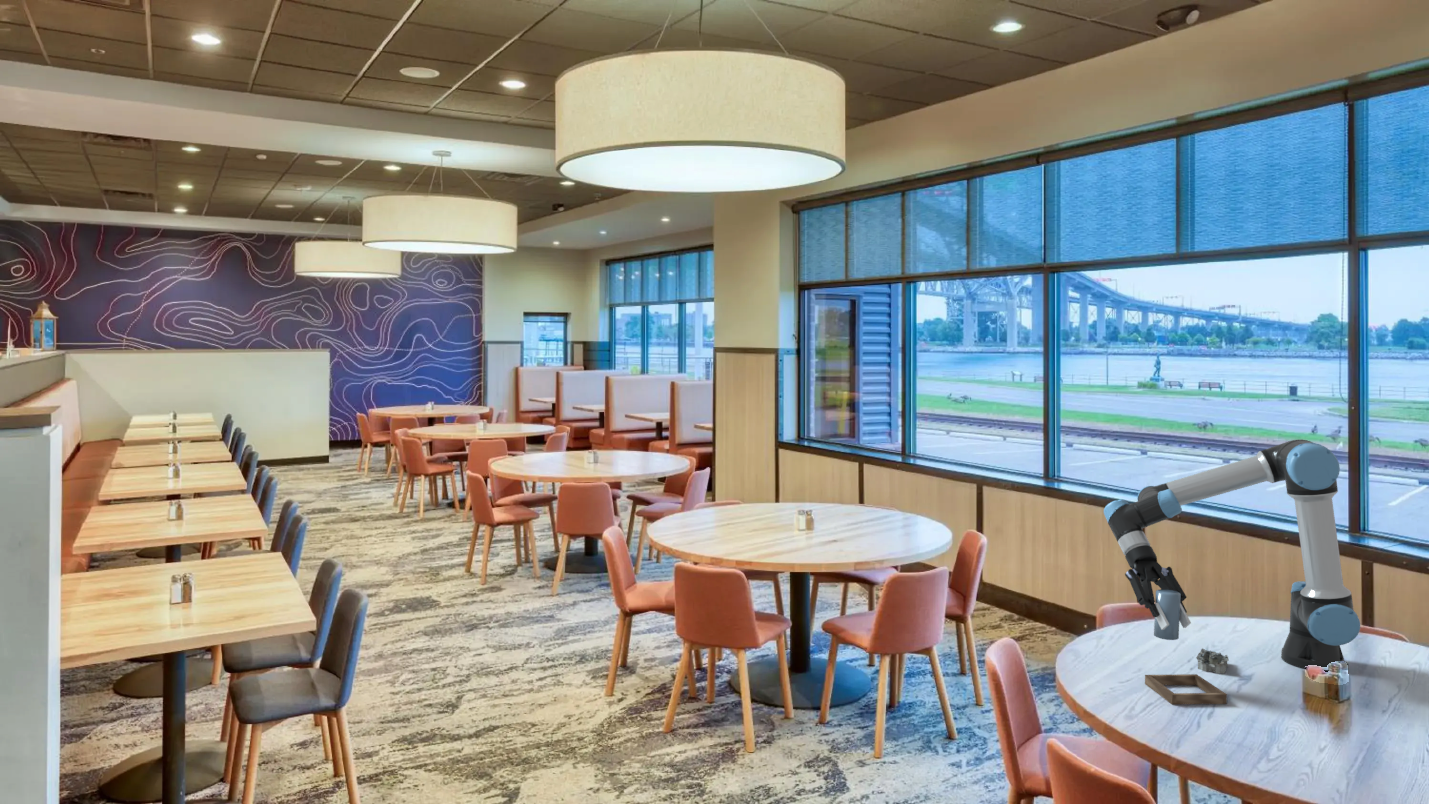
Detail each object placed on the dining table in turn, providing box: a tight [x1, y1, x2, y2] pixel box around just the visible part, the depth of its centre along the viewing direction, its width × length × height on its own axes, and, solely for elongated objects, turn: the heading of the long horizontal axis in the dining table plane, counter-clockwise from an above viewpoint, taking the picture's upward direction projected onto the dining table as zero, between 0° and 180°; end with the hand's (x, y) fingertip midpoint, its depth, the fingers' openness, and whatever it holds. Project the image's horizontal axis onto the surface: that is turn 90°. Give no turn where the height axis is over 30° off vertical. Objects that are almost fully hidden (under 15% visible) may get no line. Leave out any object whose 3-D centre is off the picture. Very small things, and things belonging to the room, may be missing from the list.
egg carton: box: [1195, 647, 1229, 675], centre depth 262 cm, size 11×8×4 cm
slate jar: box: [1153, 588, 1181, 641], centre depth 251 cm, size 6×6×12 cm
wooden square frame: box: [1144, 673, 1228, 705], centre depth 243 cm, size 14×14×2 cm
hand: (1176, 626), depth 247 cm, fingers closed on slate jar, 6 cm apart
